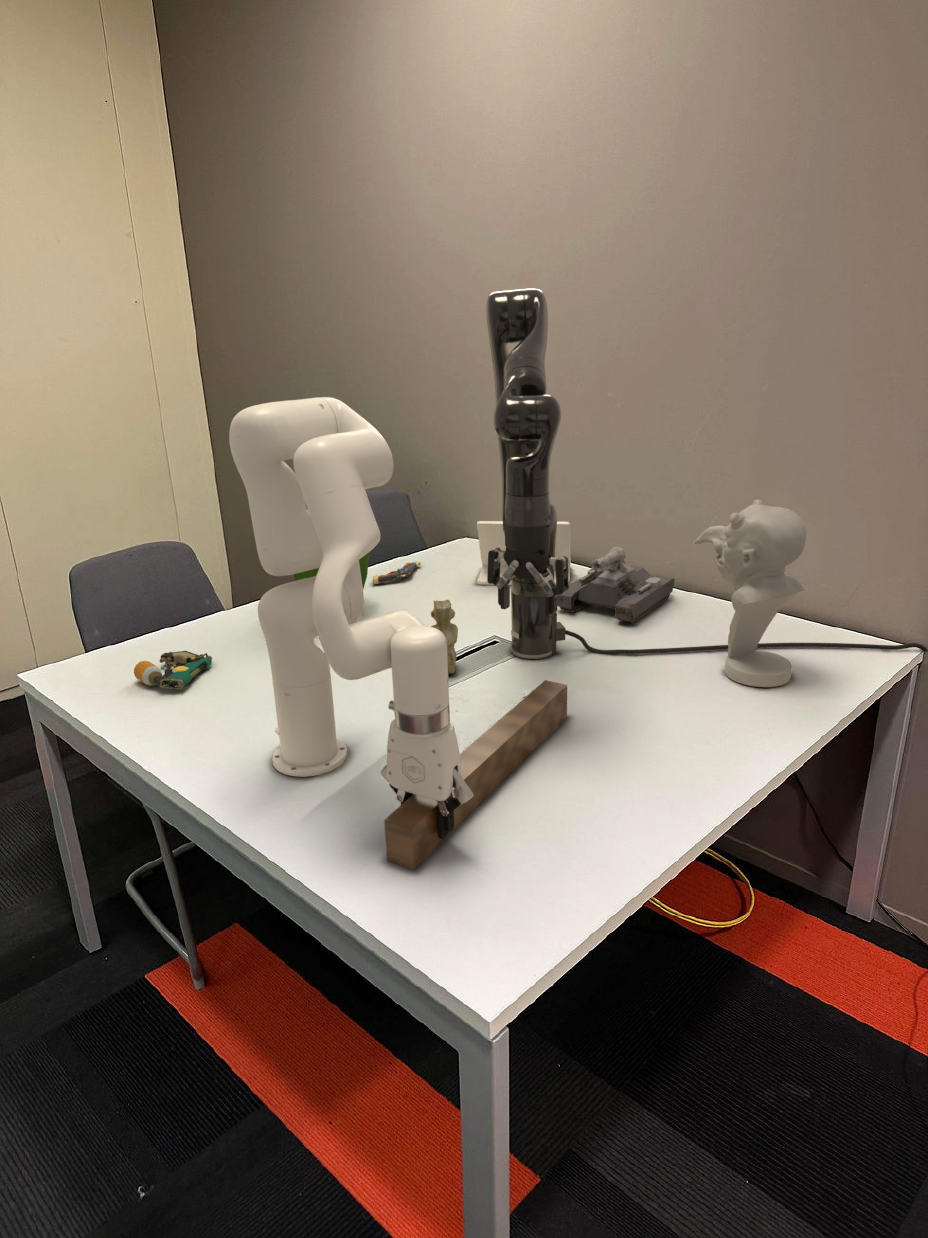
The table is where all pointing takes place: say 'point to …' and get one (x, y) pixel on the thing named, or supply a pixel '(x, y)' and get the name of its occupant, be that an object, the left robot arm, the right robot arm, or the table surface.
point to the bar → (477, 772)
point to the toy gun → (396, 573)
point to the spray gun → (172, 669)
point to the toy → (617, 588)
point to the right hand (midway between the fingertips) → (527, 611)
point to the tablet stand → (494, 537)
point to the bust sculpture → (757, 585)
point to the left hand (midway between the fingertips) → (427, 826)
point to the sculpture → (446, 629)
